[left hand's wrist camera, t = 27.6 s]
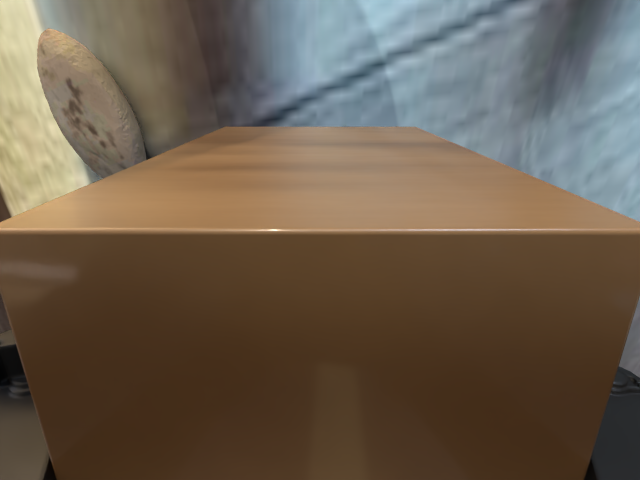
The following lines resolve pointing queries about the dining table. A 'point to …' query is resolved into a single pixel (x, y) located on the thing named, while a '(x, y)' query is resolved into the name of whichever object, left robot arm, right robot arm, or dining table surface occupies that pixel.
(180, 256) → the brown wooden block
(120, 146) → the decorative stone
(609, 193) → the dining table surface
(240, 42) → the dining table surface
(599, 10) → the dining table surface
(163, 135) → the dining table surface
